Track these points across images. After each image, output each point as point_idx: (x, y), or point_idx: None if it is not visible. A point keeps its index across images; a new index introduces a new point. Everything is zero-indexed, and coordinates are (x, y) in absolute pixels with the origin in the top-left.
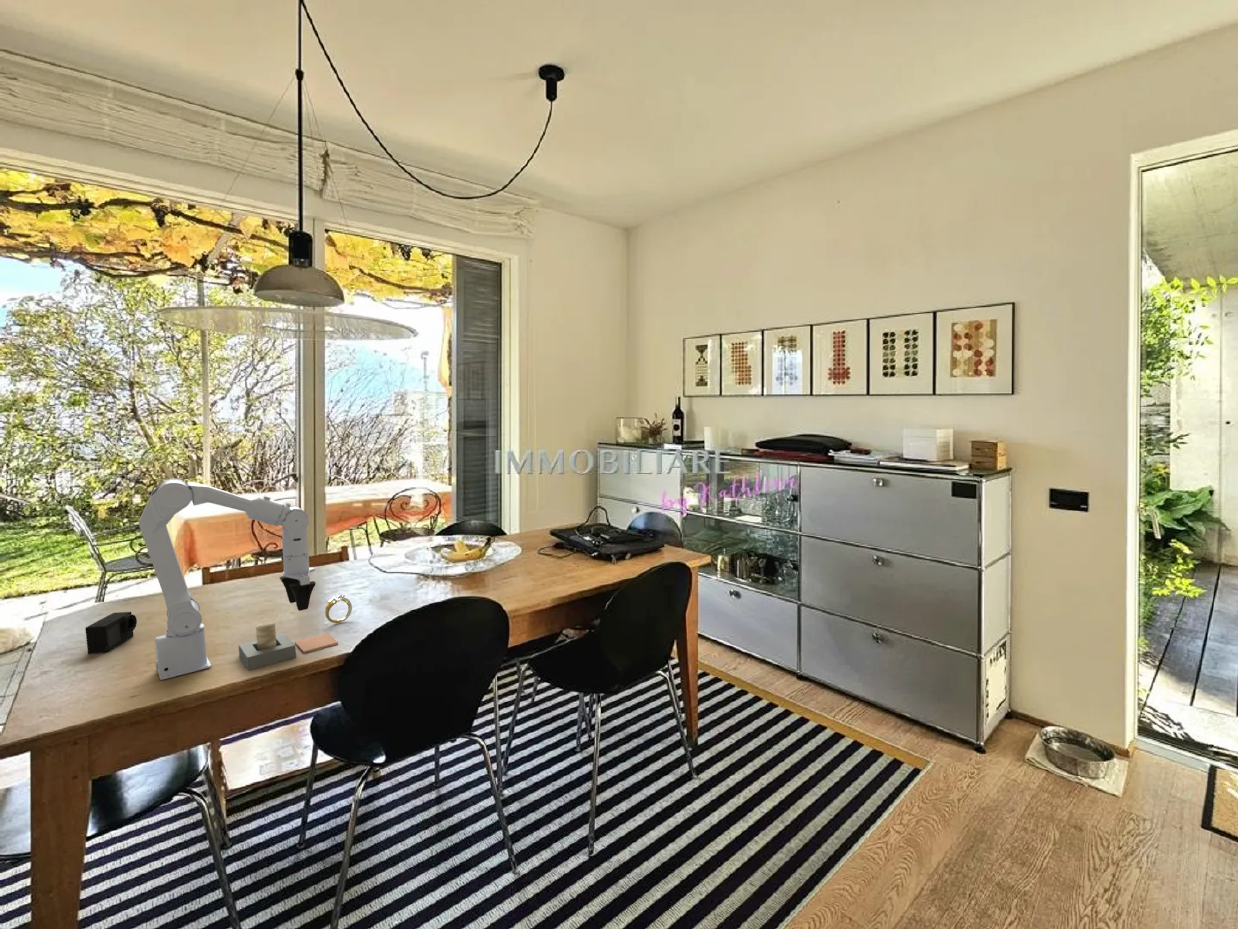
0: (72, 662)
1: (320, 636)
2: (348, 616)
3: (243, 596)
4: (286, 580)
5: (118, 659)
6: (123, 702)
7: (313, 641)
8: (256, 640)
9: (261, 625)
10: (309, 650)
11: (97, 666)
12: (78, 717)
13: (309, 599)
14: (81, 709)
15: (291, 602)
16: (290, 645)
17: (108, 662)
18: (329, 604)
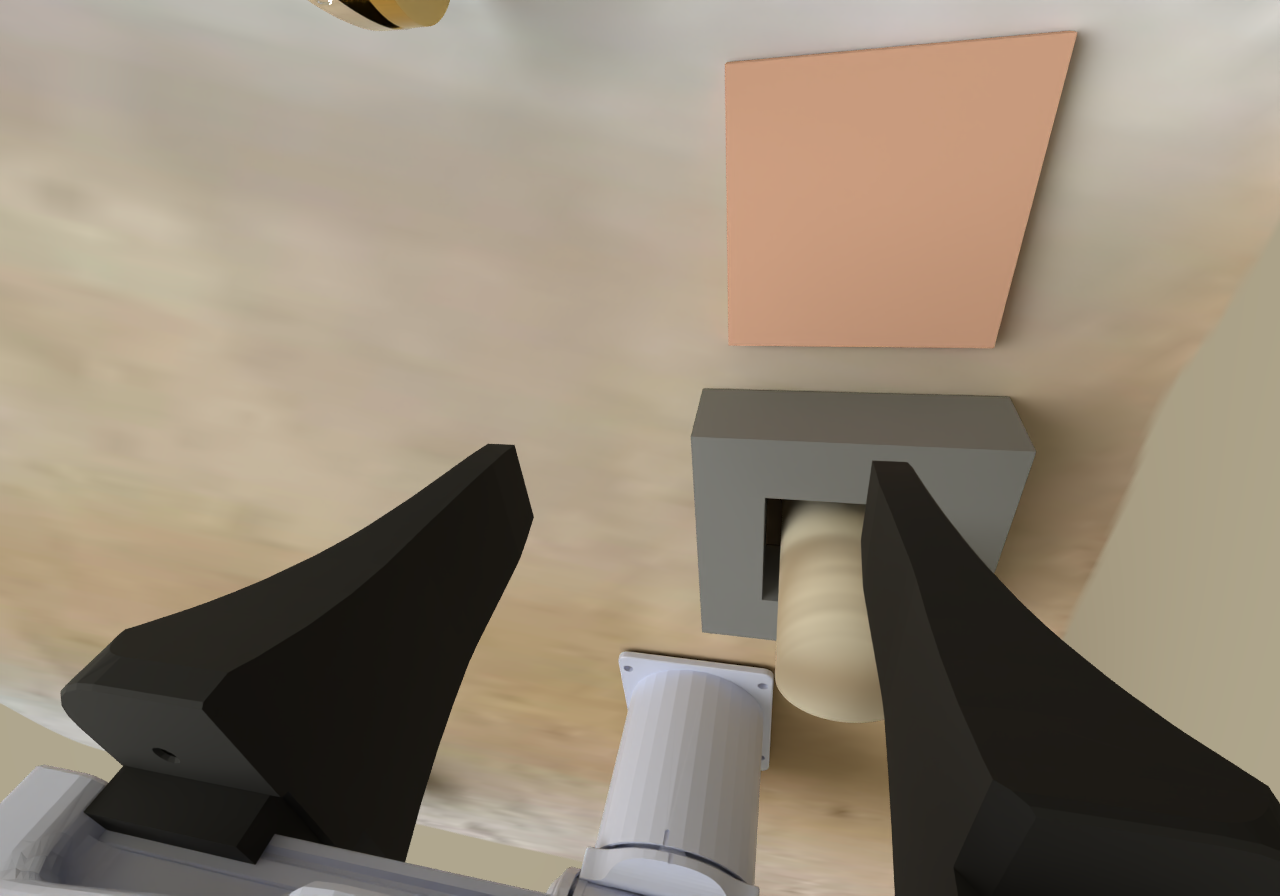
0: (435, 798)
1: (761, 153)
2: None
3: None
4: (388, 813)
5: (470, 758)
6: (868, 830)
7: (839, 236)
8: (706, 571)
9: (831, 698)
10: (1003, 306)
11: (501, 787)
12: (878, 878)
13: (970, 547)
14: (823, 865)
15: (528, 514)
16: (1005, 475)
17: (482, 772)
18: None
